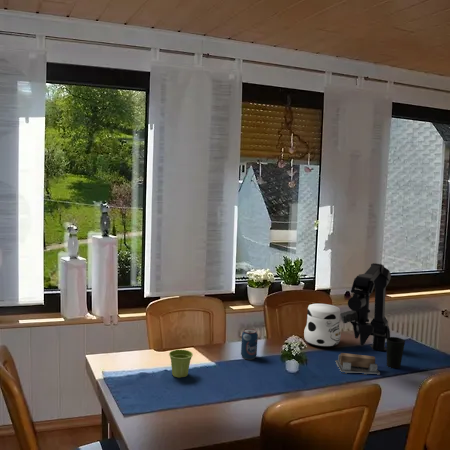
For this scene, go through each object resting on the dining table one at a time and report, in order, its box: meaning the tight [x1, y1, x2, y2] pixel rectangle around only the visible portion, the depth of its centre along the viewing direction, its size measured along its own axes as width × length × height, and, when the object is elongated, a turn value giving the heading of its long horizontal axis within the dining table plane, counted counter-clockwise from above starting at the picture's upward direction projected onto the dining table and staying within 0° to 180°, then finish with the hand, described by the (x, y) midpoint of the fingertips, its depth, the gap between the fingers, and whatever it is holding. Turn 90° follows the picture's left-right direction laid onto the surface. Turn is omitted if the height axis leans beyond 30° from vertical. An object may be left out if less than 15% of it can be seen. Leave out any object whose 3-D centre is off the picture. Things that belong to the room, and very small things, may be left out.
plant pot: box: [168, 349, 194, 379], centre depth 201 cm, size 9×9×9 cm
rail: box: [340, 352, 376, 368], centre depth 217 cm, size 14×4×4 cm, turn 80°
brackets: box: [335, 354, 381, 376], centre depth 217 cm, size 12×16×4 cm
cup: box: [385, 336, 406, 369], centre depth 221 cm, size 8×8×12 cm
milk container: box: [303, 303, 342, 348], centre depth 246 cm, size 17×17×18 cm
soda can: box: [240, 328, 259, 361], centre depth 224 cm, size 7×7×12 cm
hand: (359, 341), depth 216 cm, fingers open, 9 cm apart
